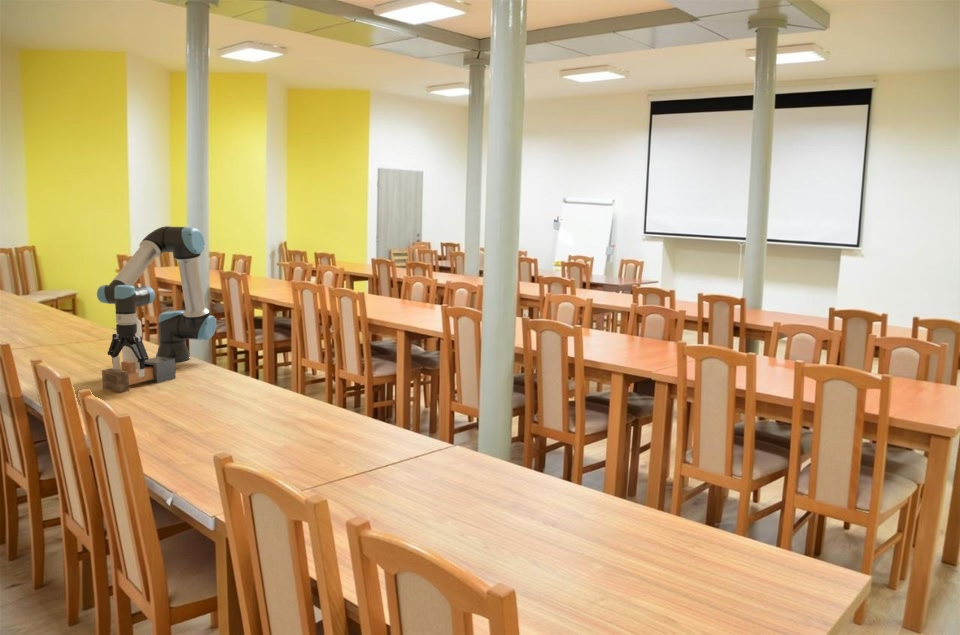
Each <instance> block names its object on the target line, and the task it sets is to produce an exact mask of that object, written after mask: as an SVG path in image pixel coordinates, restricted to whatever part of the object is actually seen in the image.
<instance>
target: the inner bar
mask: <svg viewBox="0 0 960 635" xmlns="http://www.w3.org/2000/svg"><path fill="white" fill-rule="evenodd" d="M120 367H121V370H123V371H128V375H129V386H131V385H134V384H140V383H142V382H147V380H151V379H154V367H152V366H148V367H145V369H144V375H145V376H143V377H138V372H137V369H136V363H135V362H134V361H128V360H127V361H123V360H122V361H120Z"/></svg>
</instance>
